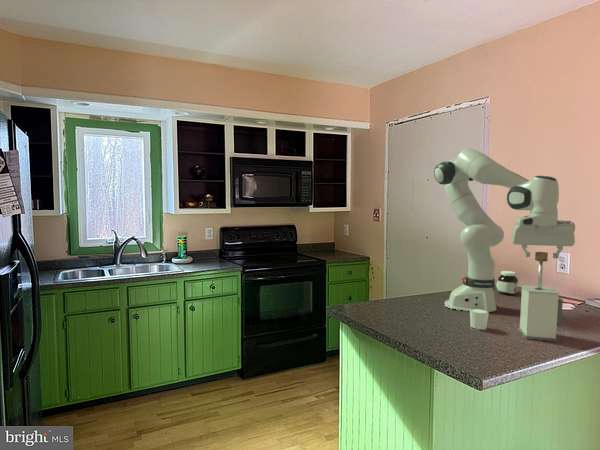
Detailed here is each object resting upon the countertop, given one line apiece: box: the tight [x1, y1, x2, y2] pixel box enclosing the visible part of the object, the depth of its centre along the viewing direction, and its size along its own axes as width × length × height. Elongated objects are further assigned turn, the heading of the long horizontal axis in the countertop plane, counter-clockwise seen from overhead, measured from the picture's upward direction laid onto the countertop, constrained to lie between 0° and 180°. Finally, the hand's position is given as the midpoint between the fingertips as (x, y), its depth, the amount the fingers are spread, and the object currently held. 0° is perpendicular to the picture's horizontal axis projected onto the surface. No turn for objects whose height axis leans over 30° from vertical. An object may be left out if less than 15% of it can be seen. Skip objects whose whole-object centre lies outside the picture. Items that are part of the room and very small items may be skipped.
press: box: [518, 284, 564, 343], centre depth 154 cm, size 13×10×18 cm
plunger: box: [534, 251, 549, 290], centre depth 154 cm, size 7×7×20 cm
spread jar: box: [495, 270, 519, 296], centre depth 221 cm, size 12×11×12 cm
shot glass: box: [469, 309, 490, 330], centre depth 163 cm, size 7×7×7 cm
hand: (541, 257), depth 153 cm, fingers open, 8 cm apart
